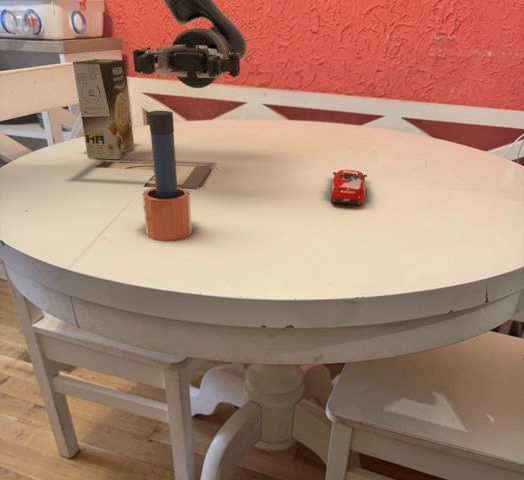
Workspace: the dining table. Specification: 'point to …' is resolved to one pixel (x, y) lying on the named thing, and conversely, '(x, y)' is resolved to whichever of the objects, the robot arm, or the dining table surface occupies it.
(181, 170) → the sketch board
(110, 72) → the coffee box
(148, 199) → the pen pot
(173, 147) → the marker
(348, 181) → the race car
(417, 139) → the dining table surface
